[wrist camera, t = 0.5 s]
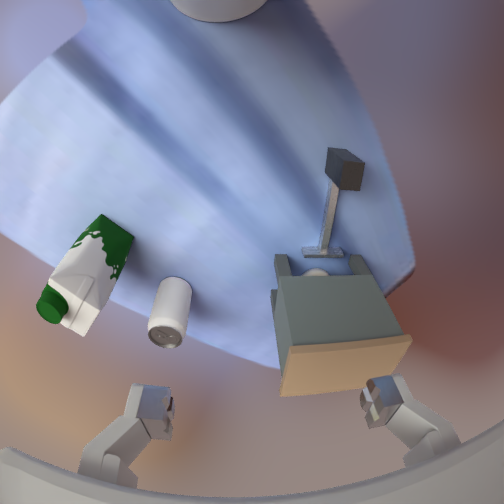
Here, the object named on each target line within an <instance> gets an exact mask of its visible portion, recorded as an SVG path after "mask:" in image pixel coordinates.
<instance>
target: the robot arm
mask: <svg viewBox="0 0 504 504" xmlns="http://www.w3.org/2000/svg"><path fill="white" fill-rule="evenodd" d="M170 1H171V2H172V3H173V5H174V6H175V7H176V8H177V9H178V10H179V11H181V12H182V13H183V14H185V15H187V16H189V17H191V18H194V19H197V20H201V21H206V22H226V21H232V20H236V19H239V18H242V17H245V16H247V15H249V14H251V13H253V12H254V11H256V10H257V9H259V8H260V7H261V6H262V5H263V4H264V3H265V2H266V1H267V0H170ZM366 386H367V387H365V388H364V389H363V390H362V392H361V394H360V404H361V407H362V409H363V410H364V411H365V412H367V413H366V415H365V419H366V421H367V424H368V427H369V429H370V428H374V427H380V426H384V425H386V427H387V428H388V429H389V430H390V431H391V432H392V433H393V434H394V435H395V436H397V437H398V438H399V439H400V440H401V441H402V442H403V443H404V444H405V445H406V446H407V447H409V448H410V449H411V450H410V451H409V452H408V453H407V454H405V455H404V457H403V460H404V463H405V466H406V468H403V469H400V470H397V471H394V472H391V473H388V474H385V475H382V476H379V477H375V478H372V479H368V480H364V481H360V482H356V483H352V484H348V485H343V486H338V487H334V488H328V489H323V490H317V491H311V492H304V493H296V494H287V495H277V496H264V497H231V498H230V497H229V498H228V497H200V496H185V495H176V494H168V493H160V492H153V491H147V490H141V489H137V481H138V477H137V476H136V475H135V474H134V473H133V472H132V471H131V470H130V469H129V468H128V466H129V465H130V464H131V463H132V462H133V461H134V460H135V458H136V457H137V456H138V455H139V454H140V453H141V451H142V450H143V449H144V448H145V447H146V446H147V444H148V443H149V442H150V441H151V439H158V440H170V441H171V438H172V429H173V427H172V424H171V421H172V419H174V411H175V409H174V408H175V406H174V400H173V397H171V389H170V387H163V386H153V385H145V384H137V383H133V384H132V386H131V389H130V393H129V396H128V400H127V404H126V408H125V412H124V416H119V417H118V418H117V419H116V420H115V421H113V422H112V423H111V424H110V425H109V426H108V427H107V428H105V429H104V430H103V431H102V432H101V433H100V434H99V435H97V436H96V437H95V438H94V439H93V440H92V441H90V442H89V443H88V444H87V445H86V446H85V447H84V449H83V453H82V457H81V461H80V465H79V469H78V473H74V472H71V471H68V470H65V469H62V468H60V467H57V466H54V465H52V464H49V463H47V462H44V461H42V460H39V459H37V458H35V457H32V456H30V455H28V454H26V453H24V452H22V451H20V450H17V449H15V448H12V447H6V448H4V449H2V450H0V504H504V420H502V421H501V422H499V423H497V424H496V425H494V426H492V427H491V428H489V429H487V430H486V431H484V432H482V433H481V434H479V435H477V436H475V437H473V438H471V439H470V440H468V441H466V442H464V443H462V444H461V442H460V440H459V438H458V436H457V434H456V431H455V429H454V427H453V425H452V423H451V422H449V421H448V420H446V419H445V418H443V417H442V416H440V415H439V414H437V413H436V412H434V411H433V410H431V409H430V408H428V407H427V406H425V405H423V404H422V403H421V402H419V401H418V400H414V399H413V397H412V395H411V393H410V391H409V389H408V387H407V385H406V383H405V381H404V379H403V377H402V375H401V374H400V373H397V374H393V375H386V376H381V377H376V378H370V379H369V380H368V381H367V382H366Z"/></svg>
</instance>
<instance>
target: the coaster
mask: <svg viewBox="0 0 504 504" xmlns="http://www.w3.org/2000/svg"><path fill="white" fill-rule="evenodd" d="M301 276H329V274H328V273H327V271H325V270H324V269H321V268H313V269H310V270H307V271H306V272H304V273H303V274H302V275H301Z"/></svg>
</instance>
